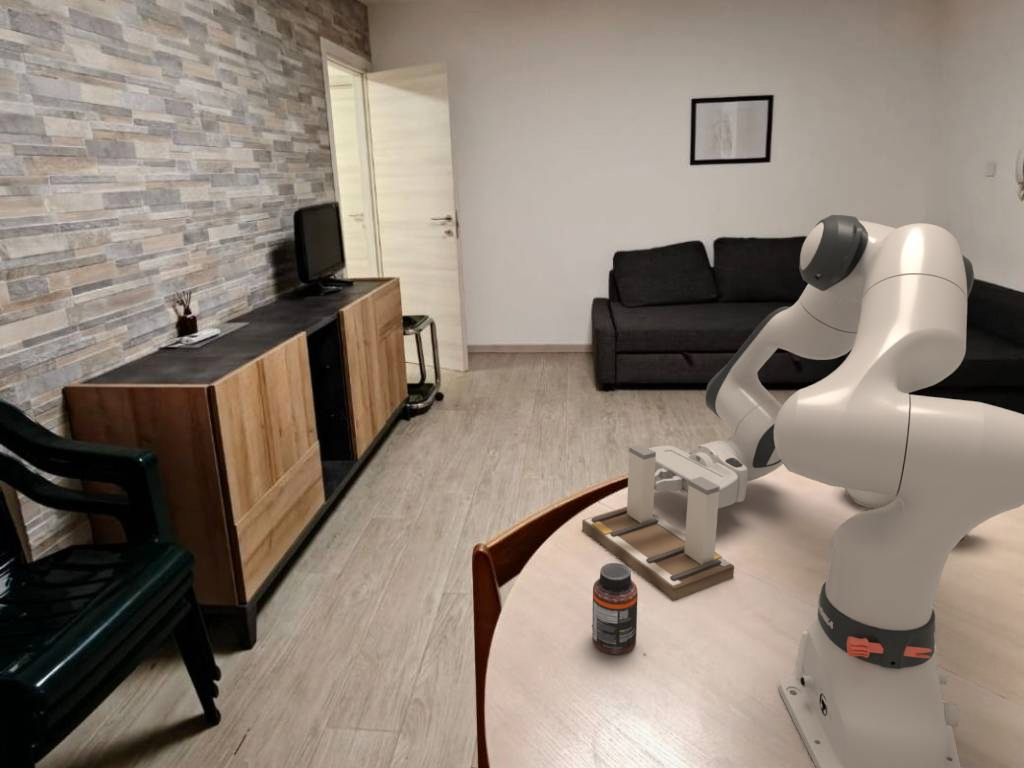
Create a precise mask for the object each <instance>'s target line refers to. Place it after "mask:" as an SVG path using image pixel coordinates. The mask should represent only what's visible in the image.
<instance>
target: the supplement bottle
mask: <svg viewBox="0 0 1024 768" xmlns="http://www.w3.org/2000/svg"><path fill="white" fill-rule="evenodd" d="M631 572H632V571H631V569H630V568H629V566H628V565H625V564H622V563H618V562H610V563H605V564H604V565H603V566H601V568H600V571H599V573H600V575H599V578H598V579H597V580H596V581H594V583H593V587H592V625H591V627H592V628H591V629H592V633H591V634H592V641H593V643H594V645H595V647H596V648H597V649H598V650H600V652H604V653H607V654H611V655H622V654H626V653H628V652H630V651H632V650H633V649H634V647H635V646H636V643H637V642H636V641H637V628H638V627H637V626H638V625H637V624H638V622H637V621H638V598H639V597H638V593H639V592H638V587H637V585H636V583H635V582H634V581H633V579H632V577H631V576H632V574H631Z"/></svg>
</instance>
